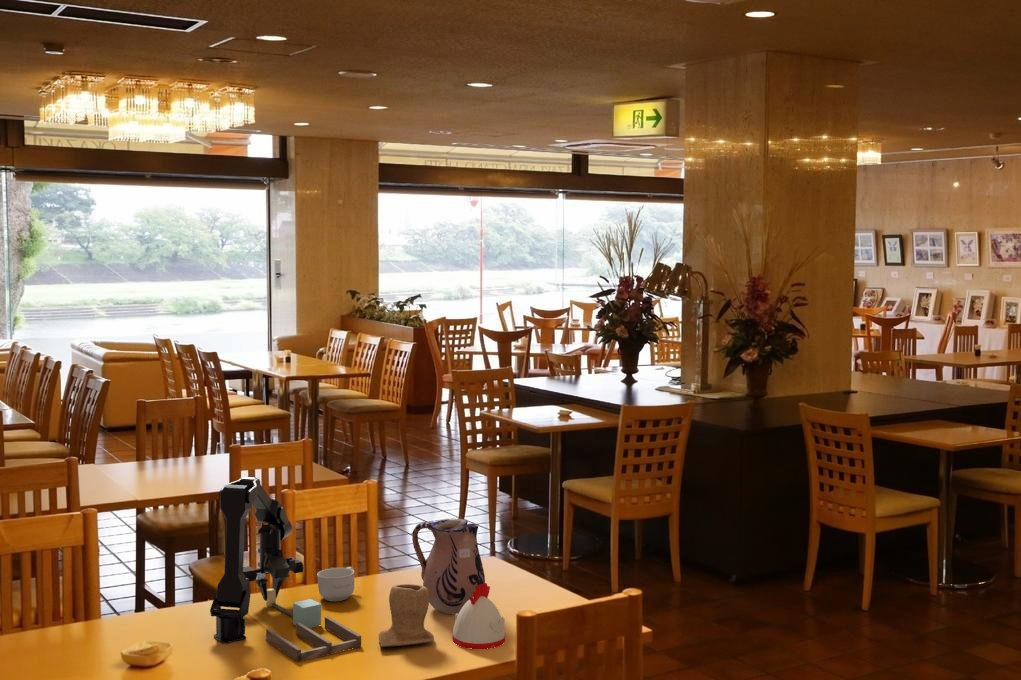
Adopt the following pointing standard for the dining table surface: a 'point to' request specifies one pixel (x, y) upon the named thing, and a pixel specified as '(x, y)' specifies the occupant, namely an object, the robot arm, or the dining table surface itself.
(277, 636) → the lane rack
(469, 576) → the ceramic pitcher
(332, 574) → the teacup
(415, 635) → the stone cup
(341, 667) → the dining table surface
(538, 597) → the dining table surface
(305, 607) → the mallet
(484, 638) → the kitchen timer
